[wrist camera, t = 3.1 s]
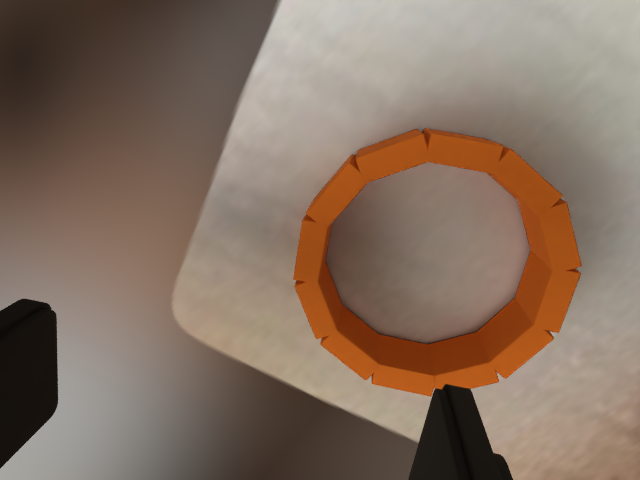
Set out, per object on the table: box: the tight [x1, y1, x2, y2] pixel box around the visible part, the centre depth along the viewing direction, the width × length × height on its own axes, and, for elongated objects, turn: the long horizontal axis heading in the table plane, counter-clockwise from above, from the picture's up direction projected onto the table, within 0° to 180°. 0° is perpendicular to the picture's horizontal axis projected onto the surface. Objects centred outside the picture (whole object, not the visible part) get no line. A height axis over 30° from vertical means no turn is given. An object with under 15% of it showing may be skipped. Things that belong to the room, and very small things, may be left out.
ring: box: [293, 128, 582, 396], centre depth 22 cm, size 12×12×3 cm
